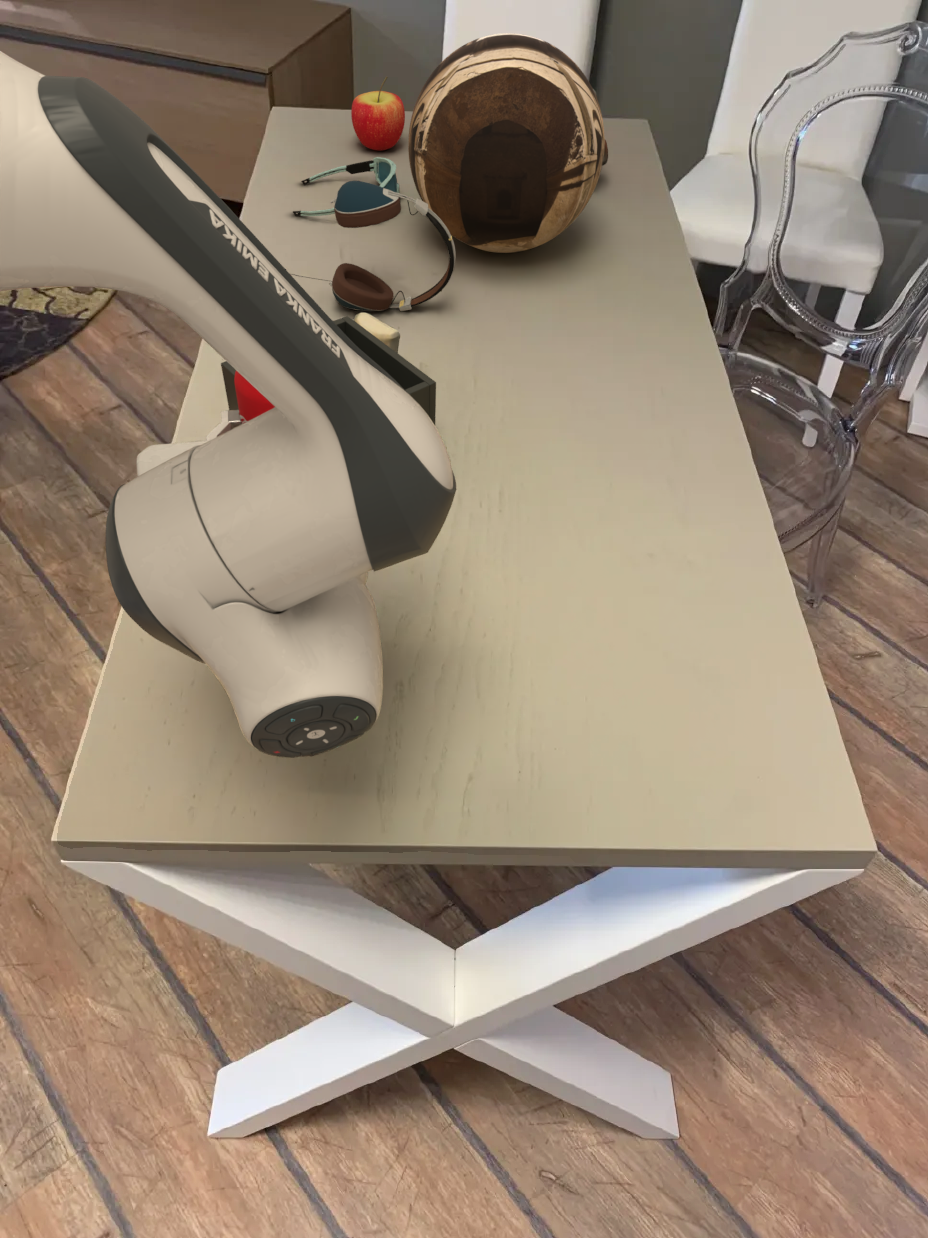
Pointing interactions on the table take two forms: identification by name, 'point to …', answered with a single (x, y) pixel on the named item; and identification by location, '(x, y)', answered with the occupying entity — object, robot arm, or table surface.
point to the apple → (378, 119)
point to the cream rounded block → (379, 330)
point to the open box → (381, 354)
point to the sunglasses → (380, 166)
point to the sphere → (506, 142)
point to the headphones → (372, 207)
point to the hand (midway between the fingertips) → (282, 413)
